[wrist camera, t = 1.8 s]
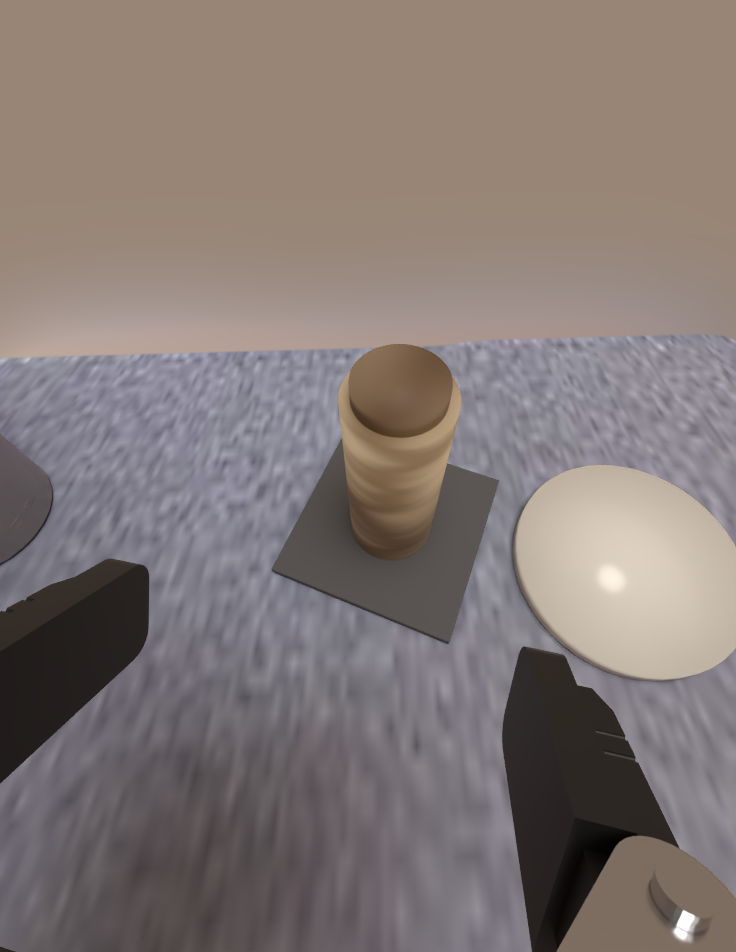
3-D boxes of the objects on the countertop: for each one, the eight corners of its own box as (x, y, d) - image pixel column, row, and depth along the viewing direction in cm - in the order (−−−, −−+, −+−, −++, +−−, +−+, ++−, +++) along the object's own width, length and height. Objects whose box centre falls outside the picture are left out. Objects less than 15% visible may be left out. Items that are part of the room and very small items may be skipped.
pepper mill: (338, 543, 31) (315, 409, 19) (369, 478, 33) (365, 323, 21) (415, 572, 30) (442, 450, 18) (440, 503, 32) (479, 355, 20)
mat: (273, 571, 30) (271, 569, 30) (346, 434, 36) (346, 430, 35) (448, 643, 28) (449, 642, 27) (497, 484, 33) (499, 480, 33)
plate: (489, 625, 28) (493, 620, 27) (536, 450, 35) (541, 440, 34) (736, 723, 25) (752, 722, 24) (737, 512, 32) (749, 504, 31)
